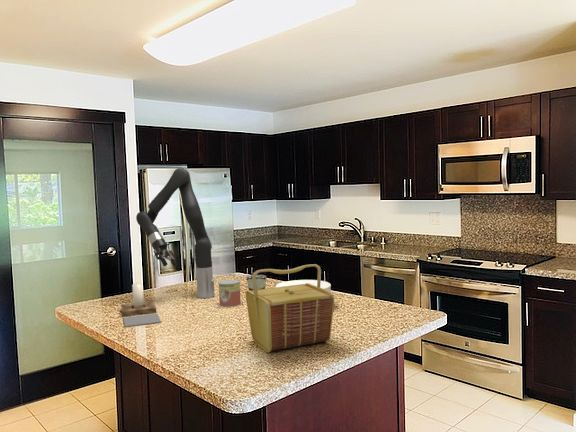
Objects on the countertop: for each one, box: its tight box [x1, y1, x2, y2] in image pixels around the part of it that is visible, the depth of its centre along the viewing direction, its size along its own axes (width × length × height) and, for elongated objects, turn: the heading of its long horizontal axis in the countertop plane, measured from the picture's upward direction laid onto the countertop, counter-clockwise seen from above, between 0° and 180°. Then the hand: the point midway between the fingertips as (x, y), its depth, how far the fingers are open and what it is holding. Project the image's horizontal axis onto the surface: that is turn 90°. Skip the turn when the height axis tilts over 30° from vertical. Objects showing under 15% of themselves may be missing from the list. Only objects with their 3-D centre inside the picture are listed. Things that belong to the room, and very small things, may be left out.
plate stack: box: [275, 279, 332, 292], centre depth 241 cm, size 28×28×12 cm
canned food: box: [218, 279, 242, 308], centre depth 252 cm, size 11×11×12 cm
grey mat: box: [123, 313, 162, 328], centre depth 225 cm, size 16×16×1 cm
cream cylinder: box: [132, 282, 144, 308], centre depth 244 cm, size 5×5×14 cm
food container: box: [245, 274, 268, 291], centre depth 279 cm, size 12×6×10 cm, turn 84°
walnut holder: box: [120, 300, 157, 318], centre depth 244 cm, size 16×16×2 cm
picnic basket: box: [245, 263, 335, 353], centre depth 186 cm, size 29×26×30 cm
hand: (170, 265), depth 255 cm, fingers open, 8 cm apart
